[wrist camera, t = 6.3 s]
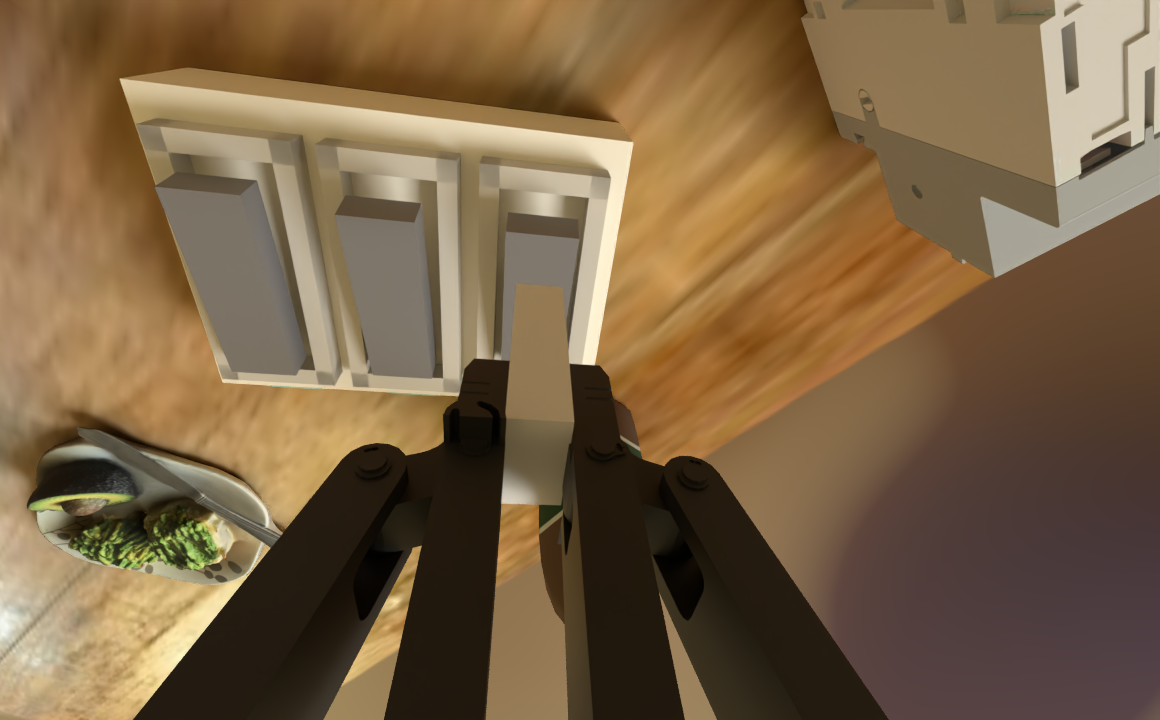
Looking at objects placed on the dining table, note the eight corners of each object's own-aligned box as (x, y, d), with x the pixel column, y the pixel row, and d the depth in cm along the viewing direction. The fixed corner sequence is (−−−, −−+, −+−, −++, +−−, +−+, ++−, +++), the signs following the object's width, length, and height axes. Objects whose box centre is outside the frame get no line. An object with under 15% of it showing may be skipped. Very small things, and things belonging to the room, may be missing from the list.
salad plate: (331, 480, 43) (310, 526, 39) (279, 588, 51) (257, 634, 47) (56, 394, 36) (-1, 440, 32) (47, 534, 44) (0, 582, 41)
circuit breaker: (869, 221, 32) (1072, 352, 20) (791, -10, 25) (1034, -29, 13) (993, 150, 30) (1305, 247, 18) (947, -123, 23) (1418, -277, 11)
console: (188, 67, 25) (94, 82, 20) (619, 123, 28) (638, 148, 23) (262, 341, 34) (211, 400, 29) (582, 362, 37) (589, 421, 32)
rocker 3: (507, 212, 23) (505, 231, 22) (578, 219, 23) (579, 238, 22) (502, 362, 30) (500, 383, 29) (556, 366, 30) (556, 386, 29)
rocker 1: (176, 172, 21) (153, 186, 20) (256, 180, 22) (240, 195, 21) (245, 352, 28) (231, 371, 27) (306, 356, 28) (296, 375, 27)
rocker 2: (345, 195, 22) (334, 214, 21) (421, 203, 22) (414, 222, 21) (379, 354, 29) (372, 375, 28) (436, 358, 29) (432, 378, 28)
